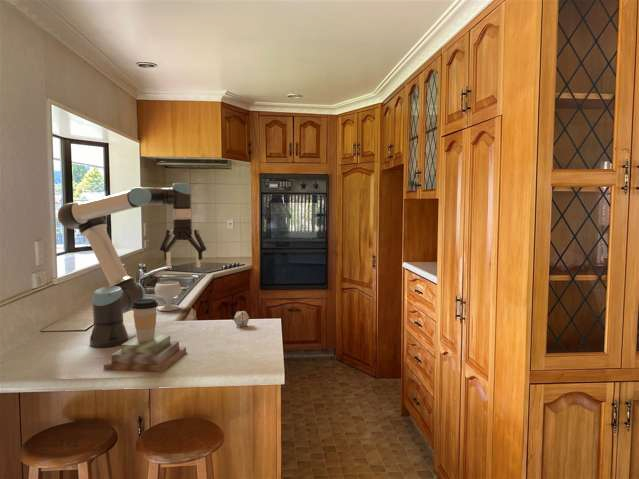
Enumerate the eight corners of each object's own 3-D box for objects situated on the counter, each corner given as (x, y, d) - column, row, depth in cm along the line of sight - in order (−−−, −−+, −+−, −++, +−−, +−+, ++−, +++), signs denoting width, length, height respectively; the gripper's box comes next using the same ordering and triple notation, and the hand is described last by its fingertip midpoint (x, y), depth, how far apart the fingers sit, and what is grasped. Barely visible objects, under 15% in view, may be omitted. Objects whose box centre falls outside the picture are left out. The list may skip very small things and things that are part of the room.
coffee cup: (137, 336, 181) (135, 298, 180) (162, 335, 182) (160, 298, 181) (129, 343, 172) (128, 304, 171) (155, 343, 173) (154, 303, 172)
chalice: (150, 309, 260) (149, 282, 259) (172, 305, 271) (171, 279, 270) (164, 313, 251) (163, 285, 250) (186, 308, 262) (185, 282, 261)
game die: (244, 335, 224) (245, 322, 217) (228, 328, 225) (229, 314, 218) (252, 322, 230) (254, 309, 224) (237, 315, 232) (239, 302, 225)
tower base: (103, 369, 168) (102, 348, 167) (134, 350, 190) (133, 331, 189) (161, 372, 166) (161, 350, 165) (186, 352, 187) (185, 332, 187)
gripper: (212, 218, 205) (213, 266, 207) (158, 218, 208) (160, 265, 209) (207, 219, 197) (208, 268, 199) (151, 218, 200) (152, 267, 202)
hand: (183, 267), depth 204 cm, fingers open, 13 cm apart
